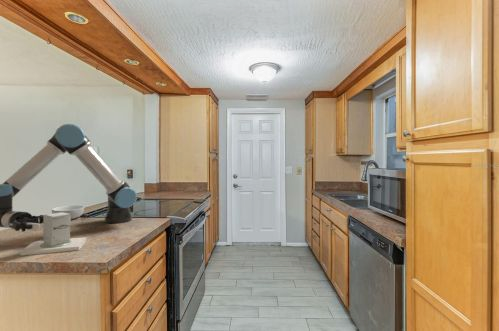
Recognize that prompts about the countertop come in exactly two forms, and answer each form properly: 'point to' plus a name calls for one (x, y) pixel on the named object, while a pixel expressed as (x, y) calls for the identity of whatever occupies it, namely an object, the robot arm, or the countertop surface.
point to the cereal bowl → (70, 210)
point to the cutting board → (53, 247)
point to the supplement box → (56, 228)
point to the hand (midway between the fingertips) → (55, 223)
